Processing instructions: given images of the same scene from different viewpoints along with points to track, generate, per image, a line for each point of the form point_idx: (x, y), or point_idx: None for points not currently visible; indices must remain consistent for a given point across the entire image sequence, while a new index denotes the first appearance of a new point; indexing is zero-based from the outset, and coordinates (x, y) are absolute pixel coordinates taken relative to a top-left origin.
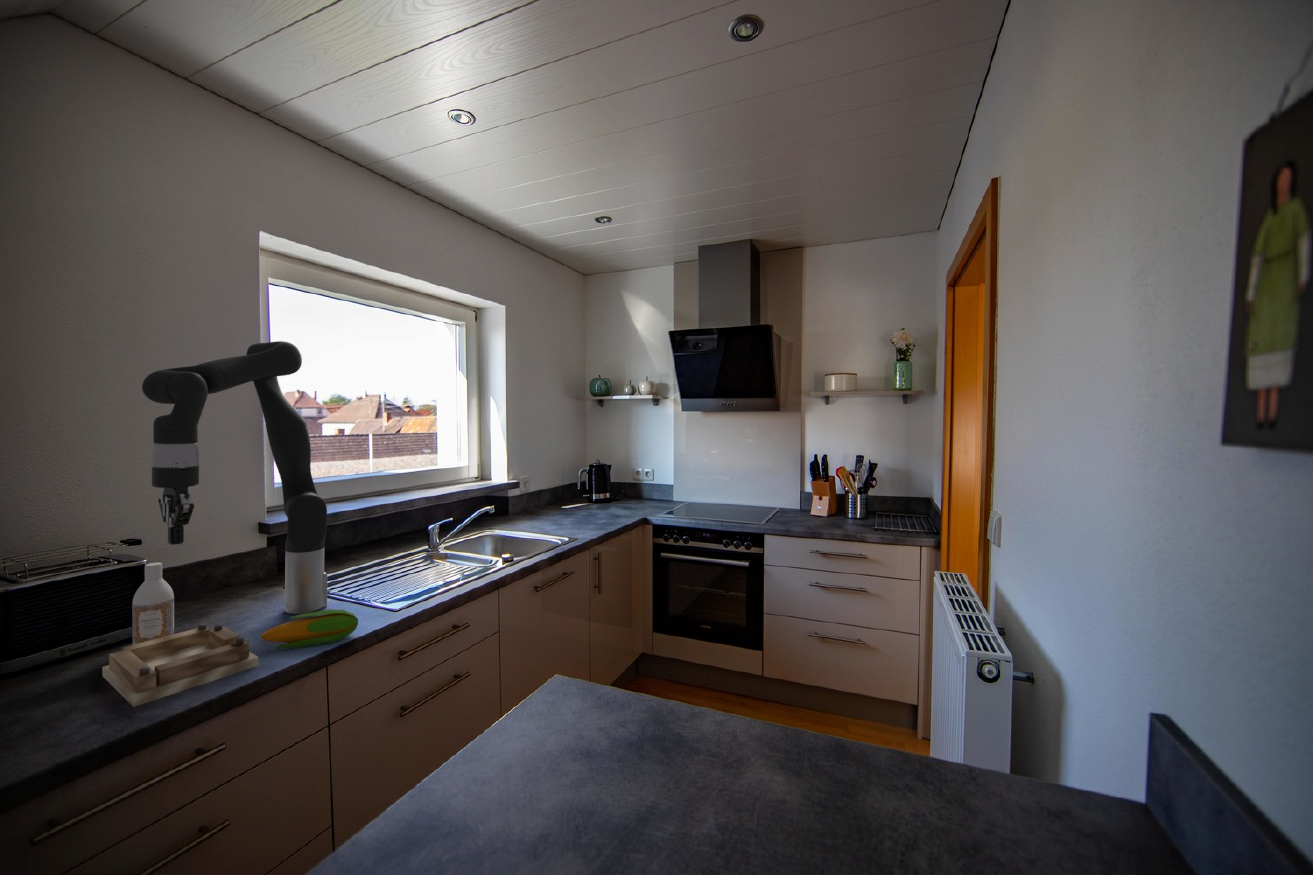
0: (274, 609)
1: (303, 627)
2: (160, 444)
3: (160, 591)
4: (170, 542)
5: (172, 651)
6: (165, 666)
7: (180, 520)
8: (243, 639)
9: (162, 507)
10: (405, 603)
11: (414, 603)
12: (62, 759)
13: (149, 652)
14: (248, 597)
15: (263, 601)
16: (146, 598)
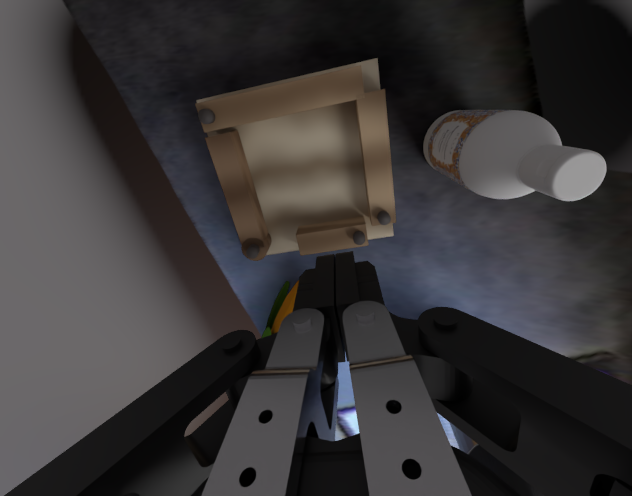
0: (490, 316)
1: (276, 326)
2: None
3: (479, 173)
4: (316, 259)
5: (362, 165)
6: (218, 147)
7: (229, 393)
8: (249, 256)
9: (586, 429)
10: (356, 427)
11: (347, 433)
12: (75, 11)
13: (359, 132)
14: (606, 302)
15: (554, 313)
16: (477, 140)
